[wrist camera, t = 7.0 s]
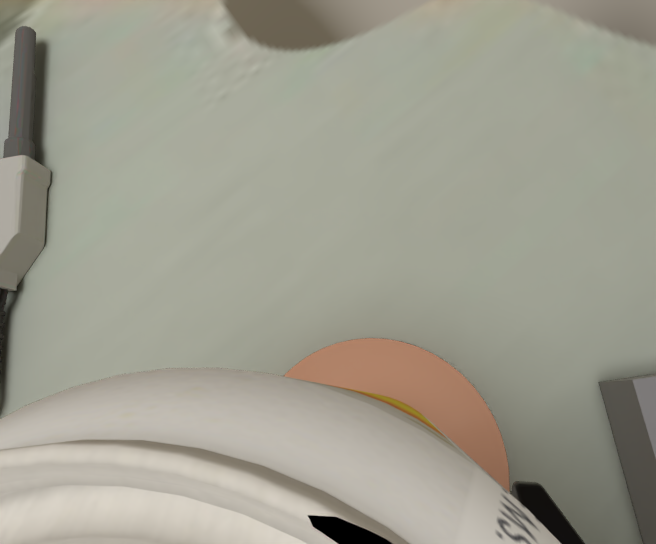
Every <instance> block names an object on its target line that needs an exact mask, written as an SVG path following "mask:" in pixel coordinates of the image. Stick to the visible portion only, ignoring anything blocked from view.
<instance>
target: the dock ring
mask: <svg viewBox="0 0 656 544" xmlns="http://www.w3.org/2000/svg"><path fill="white" fill-rule="evenodd" d="M599 385H600V388H601V392H602V396H603V399H604V403H605V406H606V410H607V414H608V417H609V421H610V424H611V428H612V432H613V435H614V439H615V442H616V446H617V450H618V453H619V457H620V460H621V464H622V468H623V471H624V475H625V478H626V482H627V485H628V489H629V493H630V496H631V500H632V503H633V507H634V511H635V514H636V518H637V521H638V525H639V529H640V532H641V536H642V539H643V543H644V544H656V374H650V375H644V376H637V377H630V378H623V379H616V380H610V381H603V382H599Z"/></svg>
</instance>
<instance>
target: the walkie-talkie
mask: <svg viewBox="0 0 656 544" xmlns="http://www.w3.org/2000/svg"><path fill="white" fill-rule="evenodd" d="M35 44H36V32H35V31H34V30H33V29H31V28H30V27H27V26H22V27H20V28H18V29H17V30H16V33H15V48H14V63H13V77H12V92H11V107H10V121H9V136H8V139H6V140H5V143H4V156H3V158H1V159H0V354H1V350H3V346H1V339H3V336H4V335H3V334H2V327H4V323H3V316H5V312H3V309H4V305H5V304H6V299H7V294H8V291H16V290H17V285H18V284H19V283H20V281H21V280H22V278H23V277H24V275H25V274H26V273H27V271H28V270H29V268H30V267H31V265H32V264H33V262H34V261H35V260H36V258H37V257H38V255H39V254H40V252H41V251H42V249H43V248H44V244H45V225H46V205H47V188H48V187H49V185H50V179H51V171H50V170H49V169H47V168H46V167H44V166H43V165H41V164H39V163H38V162H36V161H35V144H34V143H33V124H34V106H35V89H36V77H35V74H34V65H35ZM0 362H2V358H1V357H0ZM0 374H1V370H0Z"/></svg>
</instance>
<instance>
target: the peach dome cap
mask: <svg viewBox="0 0 656 544" xmlns="http://www.w3.org/2000/svg"><path fill="white" fill-rule="evenodd" d="M284 376H285V377H290V378H295V379H300V380H306V381H311V382H316V383H321V384H327V385H332V386H337V387H342V388H348V389H353V390H358V391H363V392H369V393H374V394H379V395H383V396H387V397H391V398H393V399H396V400H399V401H401V402H403V403H405V404H407V405H409V406H411V407H412V408H414V409H415V410H417V411H419V412H420V413H421V414H423V415H424V416H425V417H426V418H427V419H429V420H430V421H431V422H432V423H433V424H434V425H435V426H436V427H438V428H439V429H440V430H441V431H442V432H443V433H444V434H445V435H446V436H447V437H449V438H450V439H451V440H452V441H453V442H454V443H455V444H456V445H457V446H458V447H460V448H461V449H462V450H463V451H464V452H465V453H466V454H467V455H468V456H470V457H471V458H472V459H473V460H474V461H475V462H476V463H477V464H478V465H479V466H481V467H482V468H483V469H484V470H485V471H486V472H487V473H488V474H489V475H490V476H492V477H493V478H494V479H495V480H496V481H497V482H498V483H499V484H500V485H502V486H503V487H504V488H505V489H506V490H507V491H508V492H509V490H510V489H509V468H508V462H507V455H506V450H505V447H504V443H503V440H502V436H501V433H500V431H499V429H498V426H497V424H496V422H495V419H494V417H493V415H492V413H491V412H490V410H489V408H488V407H487V405H486V403H485V401H484V400H483V399H482V397H481V396H480V395H479V393H478V392H477V391H476V389H475V388H474V387H473V386H472V385H471V384H470V382H469V381H468V380H467V379H466V378H465V377H464V376H463V375H462V374H461V373H460V372H458V371H457V370H456V369H455V368H453V367H452V366H451V365H449V364H448V363H447V362H445V361H444V360H442V359H441V358H439V357H437V356H436V355H434V354H432V353H430V352H428V351H426V350H424V349H421V348H419V347H417V346H414V345H410V344H407V343H404V342H400V341H394V340H388V339H375V338H365V339H355V340H349V341H345V342H340V343H336V344H334V345H331V346H328V347H326V348H323V349H321V350H319V351H317V352H315V353H313V354H311V355H309V356H308V357H306V358H305V359H303V360H302V361H300V362H299V363H298V364H296V365H295V366H294V367H293V368H292V369H290V370H289V371H288V372H287V373H286V374H285V375H284Z"/></svg>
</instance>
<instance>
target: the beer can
mask: <svg viewBox="0 0 656 544" xmlns="http://www.w3.org/2000/svg"><path fill="white" fill-rule="evenodd" d="M0 544H561V543H560V542H559V541H558V540H557V539H556V538H555V537H554V536H553V535H552V534H551V533H550V532H549V531H548V530H547V528H546V527H545V526H544V525H543V524H542V523H541V522H540V521H539V520H538V519H537V518H536V517H535V516H534V515H533V514H532V513H531V512H530V511H529V510H528V509H527V508H526V507H525V506H524V505H522V504H521V503H520V502H519V501H518V500H517V499H516V498H515V497H514V496H513V495H511V494H510V493H509V492H508V491H507V490H506V489H505V488H504V487H503V486H502V485H500V484H499V483H498V482H497V481H496V480H495V479H494V478H493V477H492V476H490V475H489V474H488V473H487V472H486V471H485V470H484V469H483V468H482V467H481V466H479V465H478V464H477V463H476V462H475V461H474V460H473V459H472V458H471V457H470V456H468V455H467V454H466V453H465V452H464V451H463V450H462V449H461V448H460V447H458V446H457V445H456V444H455V443H454V442H453V441H452V440H451V439H450V438H449V437H447V436H446V435H445V434H444V433H443V432H442V431H441V430H440V429H439V428H438V427H436V426H435V425H434V424H433V423H432V422H431V421H430V420H429V419H427V418H426V417H425V416H424V415H423V414H421V413H420V412H419V411H417V410H415V409H414V408H412V407H411V406H409V405H407V404H405V403H403V402H401V401H399V400H396V399H393V398H391V397H387V396H383V395H379V394H374V393H369V392H363V391H358V390H353V389H348V388H342V387H337V386H332V385H327V384H321V383H316V382H311V381H306V380H300V379H295V378H290V377H285V376H280V375H274V374H269V373H261V372H252V371H243V370H234V369H225V368H165V369H158V370H151V371H143V372H136V373H129V374H121V375H116V376H113V377H109V378H105V379H101V380H98V381H94V382H90V383H86V384H82V385H79V386H75V387H71V388H69V389H66V390H64V391H61V392H59V393H56V394H54V395H51V396H48V397H46V398H43V399H41V400H38V401H36V402H33V403H31V404H28V405H26V406H24V407H22V408H20V409H18V410H16V411H15V412H13V413H11V414H9V415H7V416H5V417H3V418H1V419H0Z"/></svg>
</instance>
